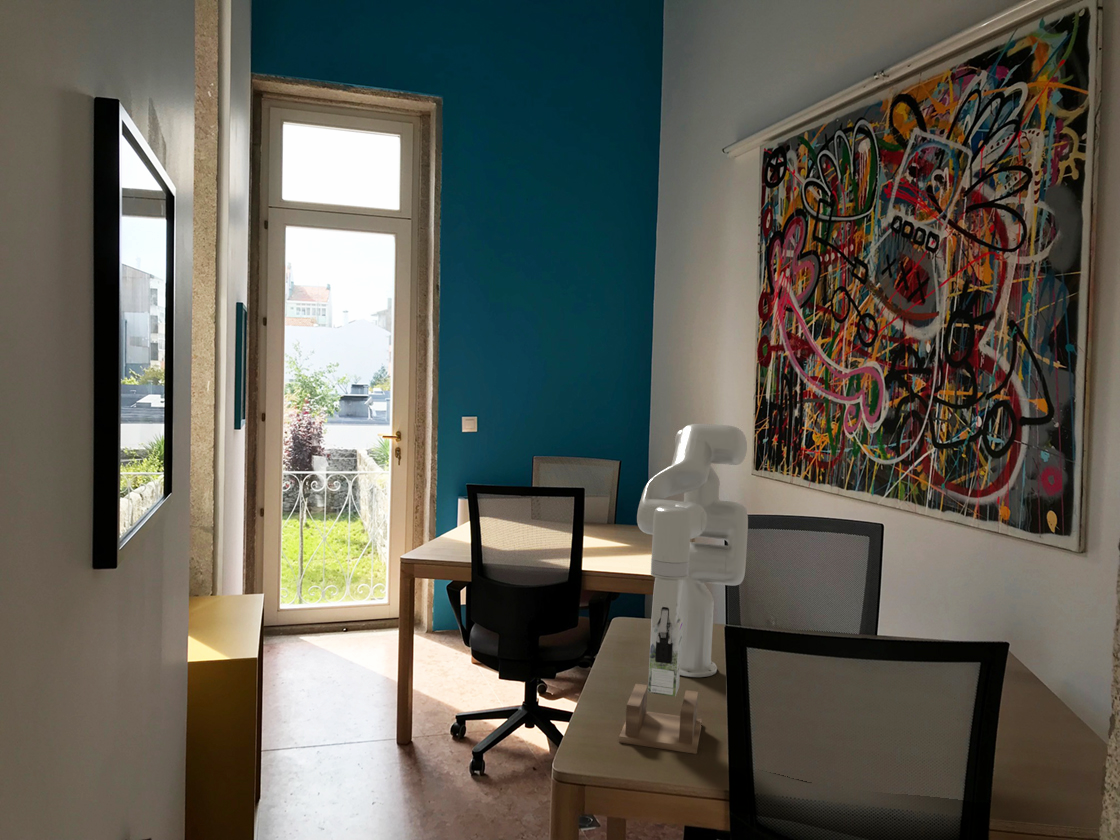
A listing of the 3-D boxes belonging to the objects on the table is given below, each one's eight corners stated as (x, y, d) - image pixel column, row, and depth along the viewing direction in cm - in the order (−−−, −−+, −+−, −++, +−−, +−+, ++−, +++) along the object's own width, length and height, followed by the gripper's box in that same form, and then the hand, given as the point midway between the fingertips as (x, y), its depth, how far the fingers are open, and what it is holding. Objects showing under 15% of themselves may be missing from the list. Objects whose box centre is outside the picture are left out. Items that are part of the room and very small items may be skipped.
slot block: (630, 714, 172) (631, 681, 172) (701, 724, 168) (703, 690, 168) (619, 742, 158) (620, 706, 158) (696, 753, 155) (698, 716, 155)
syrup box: (679, 687, 165) (683, 617, 164) (675, 698, 159) (679, 625, 159) (651, 683, 167) (655, 614, 166) (647, 693, 161) (650, 621, 160)
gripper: (656, 558, 171) (652, 642, 172) (645, 575, 154) (640, 668, 155) (692, 561, 169) (687, 646, 170) (684, 579, 153) (679, 673, 153)
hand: (665, 656), depth 163 cm, fingers closed on syrup box, 5 cm apart
